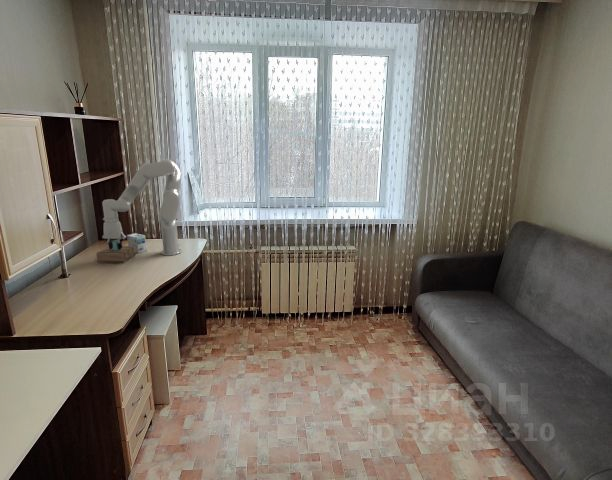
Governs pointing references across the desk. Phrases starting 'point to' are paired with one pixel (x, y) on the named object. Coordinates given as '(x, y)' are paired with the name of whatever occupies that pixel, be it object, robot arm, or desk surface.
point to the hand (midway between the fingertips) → (115, 248)
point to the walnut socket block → (116, 255)
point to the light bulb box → (137, 242)
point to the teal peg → (115, 245)
